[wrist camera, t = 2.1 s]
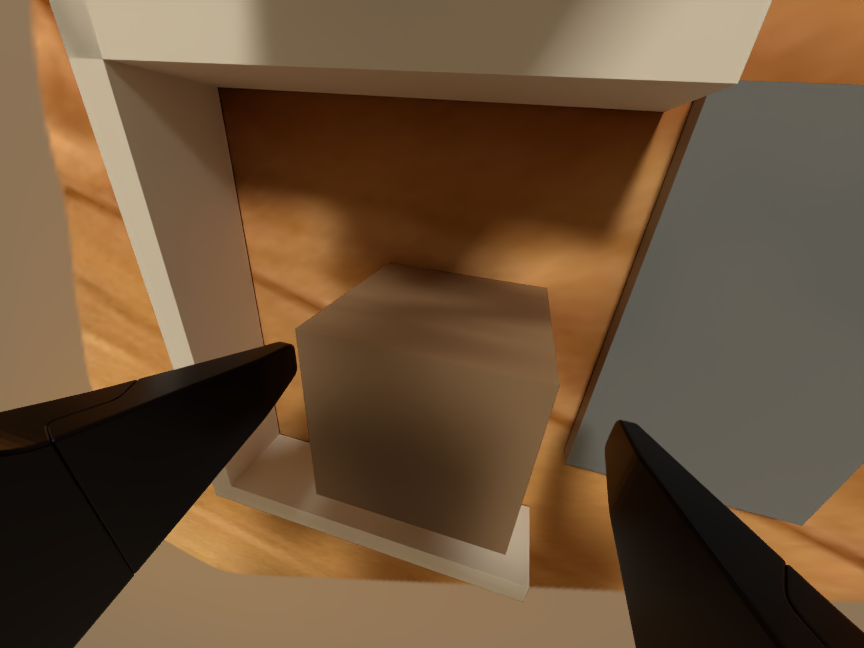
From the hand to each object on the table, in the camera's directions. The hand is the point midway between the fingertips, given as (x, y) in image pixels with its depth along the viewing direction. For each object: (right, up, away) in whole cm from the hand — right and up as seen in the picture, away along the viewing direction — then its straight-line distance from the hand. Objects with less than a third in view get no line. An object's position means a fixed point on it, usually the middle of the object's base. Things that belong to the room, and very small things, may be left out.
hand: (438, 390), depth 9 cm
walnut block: (+1, +1, +2) cm, 3 cm away
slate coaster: (+8, +1, 0) cm, 9 cm away
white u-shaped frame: (-2, +2, +3) cm, 4 cm away
